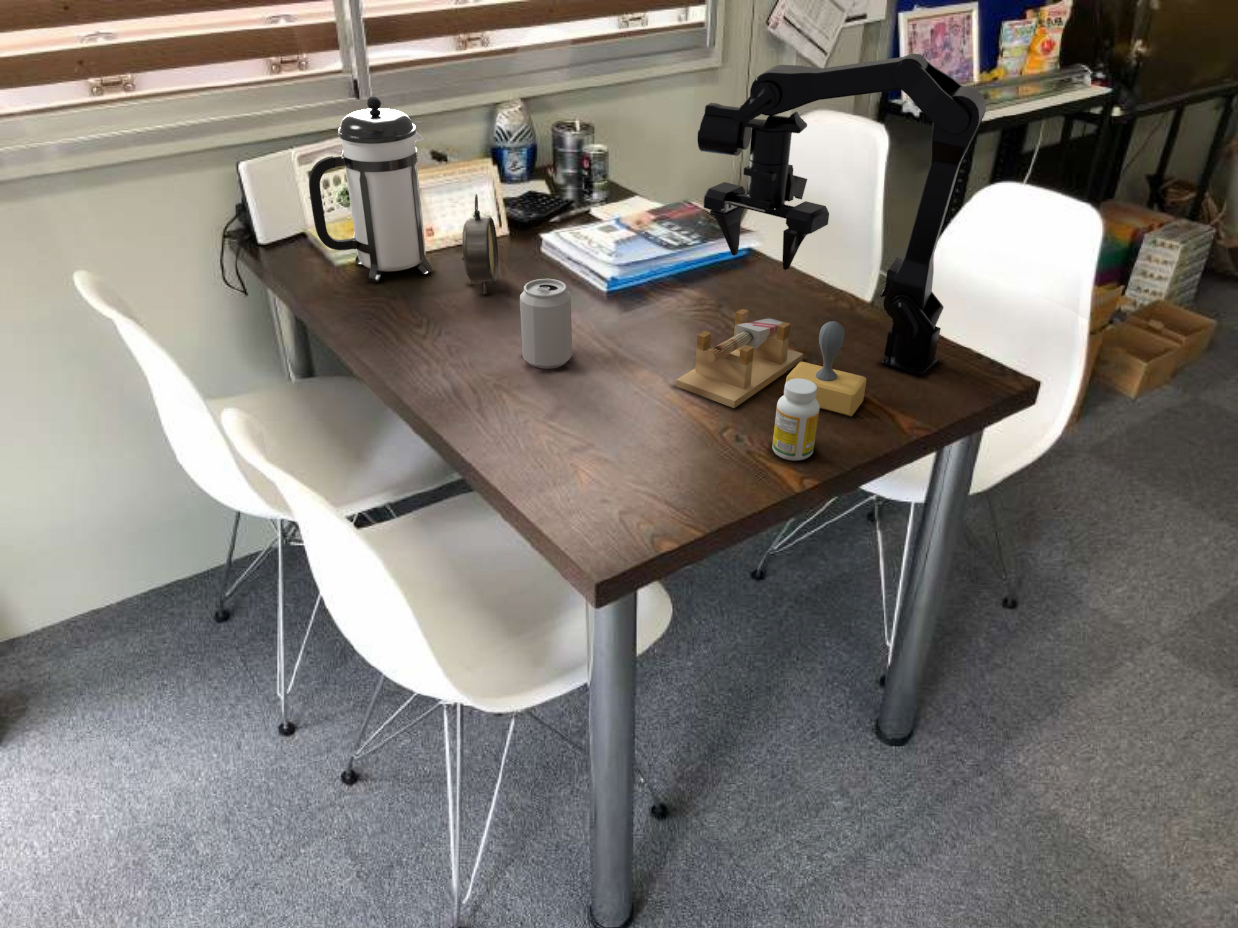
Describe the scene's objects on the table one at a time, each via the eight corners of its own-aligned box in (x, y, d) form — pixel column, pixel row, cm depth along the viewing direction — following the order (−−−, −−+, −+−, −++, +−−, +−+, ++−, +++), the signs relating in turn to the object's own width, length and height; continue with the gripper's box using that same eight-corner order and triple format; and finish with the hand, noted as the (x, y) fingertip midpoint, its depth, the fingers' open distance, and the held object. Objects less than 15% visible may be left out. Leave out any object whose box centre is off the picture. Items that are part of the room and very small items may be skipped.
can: (580, 354, 154) (579, 281, 147) (557, 375, 148) (555, 299, 142) (537, 345, 156) (535, 272, 150) (513, 365, 151) (509, 290, 144)
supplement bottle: (777, 462, 129) (784, 396, 123) (767, 440, 133) (774, 376, 128) (818, 460, 129) (827, 395, 124) (807, 439, 134) (816, 374, 128)
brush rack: (802, 360, 153) (808, 317, 149) (734, 408, 140) (738, 362, 136) (746, 342, 158) (750, 299, 154) (676, 386, 145) (678, 341, 142)
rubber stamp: (783, 399, 142) (791, 322, 136) (797, 383, 147) (806, 306, 140) (850, 417, 138) (863, 338, 132) (863, 399, 143) (876, 322, 136)
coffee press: (378, 247, 191) (357, 82, 174) (450, 260, 186) (436, 91, 169) (320, 280, 177) (292, 104, 161) (397, 295, 172) (376, 115, 156)
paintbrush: (790, 314, 152) (722, 351, 137) (787, 331, 153) (719, 369, 139) (768, 308, 154) (698, 343, 139) (765, 325, 155) (696, 361, 141)
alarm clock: (493, 298, 171) (487, 205, 163) (462, 297, 172) (454, 204, 163) (500, 273, 181) (495, 184, 172) (470, 273, 181) (464, 183, 172)
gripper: (853, 159, 146) (839, 261, 155) (744, 137, 156) (737, 234, 165) (815, 177, 139) (803, 283, 147) (703, 152, 149) (698, 253, 157)
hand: (760, 261), depth 154 cm, fingers open, 9 cm apart
